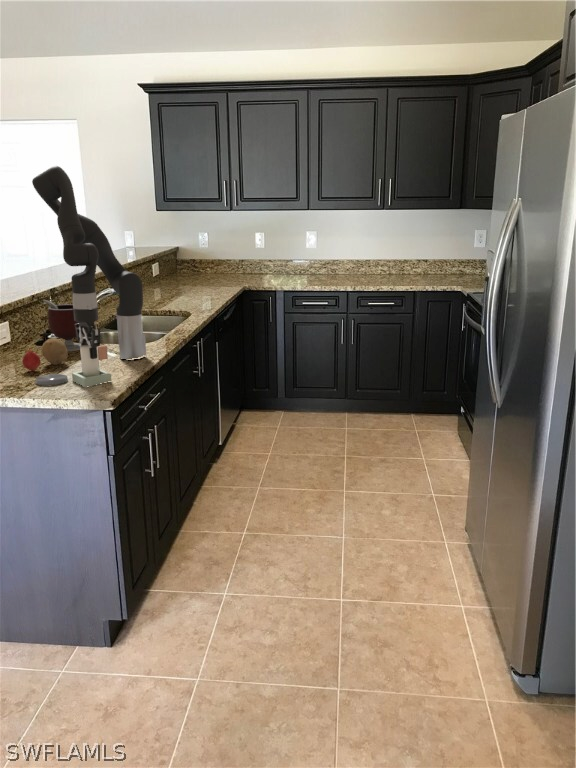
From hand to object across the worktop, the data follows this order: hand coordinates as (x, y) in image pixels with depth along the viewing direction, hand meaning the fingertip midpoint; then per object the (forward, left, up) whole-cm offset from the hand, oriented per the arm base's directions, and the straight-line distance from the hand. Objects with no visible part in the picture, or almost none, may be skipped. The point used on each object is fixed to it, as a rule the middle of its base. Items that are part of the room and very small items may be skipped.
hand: (89, 356), depth 198 cm
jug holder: (0, 0, -9) cm, 9 cm away
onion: (+10, -26, -9) cm, 29 cm away
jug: (-2, 0, -7) cm, 7 cm away
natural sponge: (0, -30, -9) cm, 31 cm away
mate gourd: (-14, -52, -9) cm, 55 cm away
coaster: (+10, -9, -9) cm, 16 cm away
